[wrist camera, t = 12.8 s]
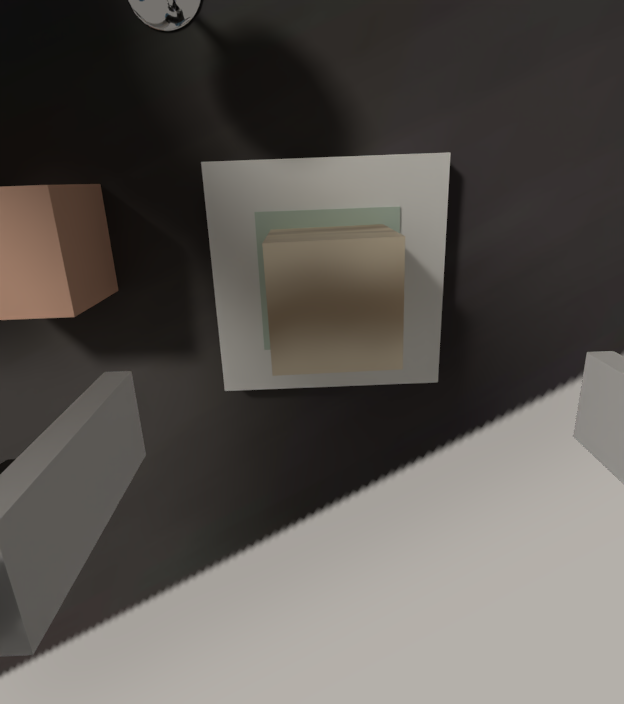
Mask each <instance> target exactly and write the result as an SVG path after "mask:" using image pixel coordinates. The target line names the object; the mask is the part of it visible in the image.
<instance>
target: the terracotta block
mask: <svg viewBox="0 0 624 704" xmlns="http://www.w3.org/2000/svg"><path fill="white" fill-rule="evenodd" d="M117 291H119V290H118V284H117V279H116V273H115V267H114V261H113V255H112V249H111V243H110V237H109V232H108V226H107V220H106V214H105V208H104V202H103V196H102V190H101V184H65V185H29V186H2V187H0V320H14V319H40V318H65V317H76V316H77V315H79V314H81V313H82V312H84V311H86V310H87V309H89V308H91V307H92V306H94V305H96V304H97V303H99V302H101V301H102V300H104V299H106V298H107V297H109V296H110V295H112V294H114V293H115V292H117Z"/></svg>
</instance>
